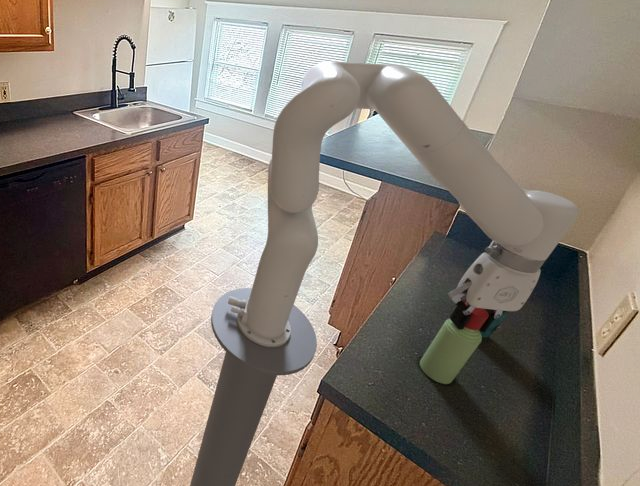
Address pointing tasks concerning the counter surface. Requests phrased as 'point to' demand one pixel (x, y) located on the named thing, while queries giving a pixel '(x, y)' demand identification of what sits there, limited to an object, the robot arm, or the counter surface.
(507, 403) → the counter surface
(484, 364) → the counter surface
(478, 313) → the cap
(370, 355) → the counter surface
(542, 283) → the counter surface
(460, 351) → the sauce bottle
